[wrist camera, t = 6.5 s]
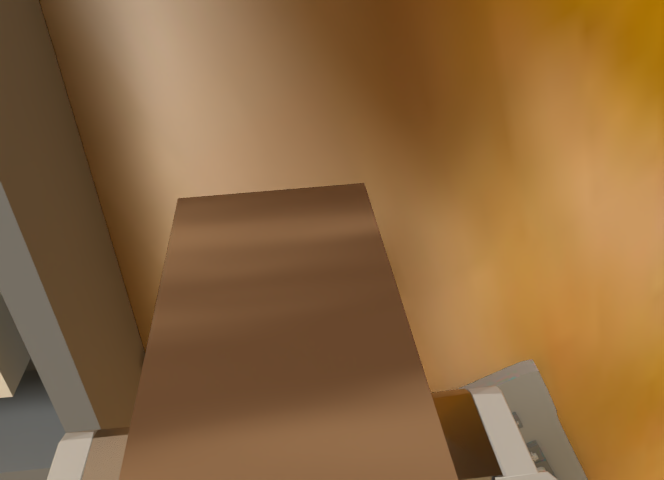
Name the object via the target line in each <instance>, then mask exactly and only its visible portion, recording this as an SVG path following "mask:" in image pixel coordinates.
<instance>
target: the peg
mask: <svg viewBox="0 0 664 480" xmlns="http://www.w3.org/2000/svg"><path fill="white" fill-rule="evenodd" d="M119 480H458V477H457V474H456V471H455V468H454V464H453V461H452V458H451V455H450V452H449V449H448V446H447V442H446V439H445V436H444V433H443V430H442V427H441V424H440V420H439V417H438V414H437V411H436V408H435V405H434V402H433V398H432V395H431V392H430V389H429V386H428V383H427V380H426V376H425V373H424V370H423V367H422V364H421V361H420V358H419V354H418V351H417V348H416V345H415V342H414V339H413V335H412V332H411V329H410V326H409V323H408V320H407V317H406V313H405V310H404V307H403V304H402V301H401V298H400V295H399V291H398V288H397V285H396V282H395V279H394V276H393V273H392V269H391V266H390V263H389V260H388V257H387V254H386V251H385V247H384V244H383V241H382V238H381V235H380V232H379V229H378V225H377V222H376V219H375V216H374V213H373V210H372V207H371V203H370V200H369V197H368V194H367V191H366V188H365V185H364V183H360V184H348V185H336V186H324V187H312V188H299V189H287V190H275V191H263V192H251V193H239V194H227V195H214V196H202V197H190V198H178V201H177V206H176V211H175V215H174V220H173V225H172V230H171V234H170V239H169V244H168V248H167V253H166V258H165V263H164V267H163V272H162V277H161V282H160V286H159V291H158V296H157V301H156V305H155V310H154V315H153V320H152V324H151V329H150V334H149V339H148V343H147V348H146V353H145V358H144V362H143V367H142V372H141V377H140V381H139V386H138V391H137V396H136V400H135V405H134V410H133V415H132V419H131V424H130V429H129V434H128V438H127V443H126V448H125V452H124V457H123V462H122V467H121V471H120V476H119Z"/></svg>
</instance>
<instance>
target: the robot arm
mask: <svg viewBox="0 0 664 480" xmlns="http://www.w3.org/2000/svg"><path fill="white" fill-rule="evenodd" d="M431 395H432V398H433V402H434V405H435V408H436V411H437V414H438V417H439V420H440V424H441V427H442V430H443V433H444V436H445V439H446V442H447V446H448V449H449V452H450V455H451V458H452V461H453V464H454V468H455V471H456V474H457V477H458V480H558V479H557V478H555V477H554V476H553V475H552V474H550V473H549V472H548V471H545V472H538V470H537V468H536V466H535V463H534V461H533V459H532V457H531V455H530V452H529V450H528V448H527V446H526V444H525V441H524V439H523V437H522V435H521V433H520V430H519V428H518V426H517V424H516V422H515V419H514V417H513V415H512V413H511V411H510V408H509V406H508V404H507V402H506V400H505V397H504V395H503V393H502V391H501V390H500V389H499V388H498V387H497V386H488V387H480V388H471V389H465V388H464V389H456V390H448V391H440V392H433V393H431ZM129 429H130V427H123V428H111V429H100V430H89V431H80V432H70V433H65V435H64V436H63V438H62V439H61V440H60V442H59V443H58V446H57V449H56V452H55V456H54V459H53V462H52V465H51V468H50V471H49V474H48V477H47V480H119V476H120V471H121V467H122V462H123V457H124V452H125V448H126V443H127V438H128V434H129Z"/></svg>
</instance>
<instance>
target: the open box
mask: <svg viewBox="0 0 664 480" xmlns="http://www.w3.org/2000/svg"><path fill="white" fill-rule="evenodd" d="M144 358H145V351H144V348H143V345H142V341H141V338H140V335H139V331H138V328H137V325H136V321H135V318H134V315H133V311H132V308H131V305H130V301H129V298H128V295H127V291H126V288H125V285H124V281H123V278H122V275H121V272H120V268H119V265H118V262H117V258H116V255H115V252H114V248H113V245H112V242H111V238H110V235H109V232H108V228H107V225H106V222H105V218H104V215H103V212H102V208H101V205H100V202H99V198H98V195H97V192H96V189H95V185H94V182H93V179H92V175H91V172H90V169H89V165H88V162H87V159H86V155H85V152H84V149H83V145H82V142H81V139H80V135H79V132H78V129H77V125H76V122H75V119H74V115H73V112H72V109H71V106H70V102H69V99H68V96H67V92H66V89H65V86H64V82H63V79H62V76H61V72H60V69H59V66H58V62H57V59H56V56H55V52H54V49H53V46H52V42H51V39H50V36H49V32H48V29H47V26H46V23H45V19H44V16H43V13H42V9H41V6H40V3H39V0H0V480H47V477H48V474H49V471H50V468H51V465H52V462H53V459H54V456H55V452H56V449H57V446H58V443H59V442H60V440H61V439H62V438H63V436H64V435H65V433H70V432H80V431H89V430H100V429H111V428H123V427H130V424H131V419H132V415H133V410H134V405H135V400H136V396H137V391H138V386H139V381H140V377H141V372H142V367H143V362H144Z"/></svg>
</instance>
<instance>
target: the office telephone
mask: <svg viewBox="0 0 664 480" xmlns="http://www.w3.org/2000/svg"><path fill="white" fill-rule="evenodd" d="M488 386H497V387H498V388H499V389H500V390H501V391H502V393H503V395H504V397H505V400H506V402H507V404H508V406H509V408H510V411H511V413H512V415H513V417H514V419H515V422H516V424H517V426H518V428H519V430H520V433H521V435H522V437H523V439H524V441H525V444H526V446H527V448H528V450H529V452H530V455H531V457H532V459H533V461H534V463H535V466H536V468H537V470H538V472H545V471H548V472H549V473H550V474H552V475H553V476H554V477H555V478H557V479H558V480H588V479H587V477H586V475H585V473H584V471H583V469H582V467H581V465H580V463H579V461H578V459H577V457H576V455H575V453H574V451H573V449H572V446H571V444H570V442H569V440H568V438H567V436H566V434H565V432H564V430H563V428H562V426H561V424H560V422H559V419H558V416H557V410H556V408H555V406H554V403H553V401H552V399H551V396H550V394H549V392H548V390H547V387H546V385H545V383H544V381H543V379H542V377H541V375H540V373H539V371H538V369H537V367H536V365H535V363H534V362H533V360H526V361H522V362H519V363H517V364H514V365H512V366H509V367H507V368H504V369H502V370H500V371H498V372H495V373H493V374H491V375H488V376H486V377H484V378H482V379H479V380H477V381H475V382H473V383H470V384H468V385H466V386H464V387H461V388H459V389H464V388H465V389H471V388H480V387H488Z"/></svg>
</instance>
